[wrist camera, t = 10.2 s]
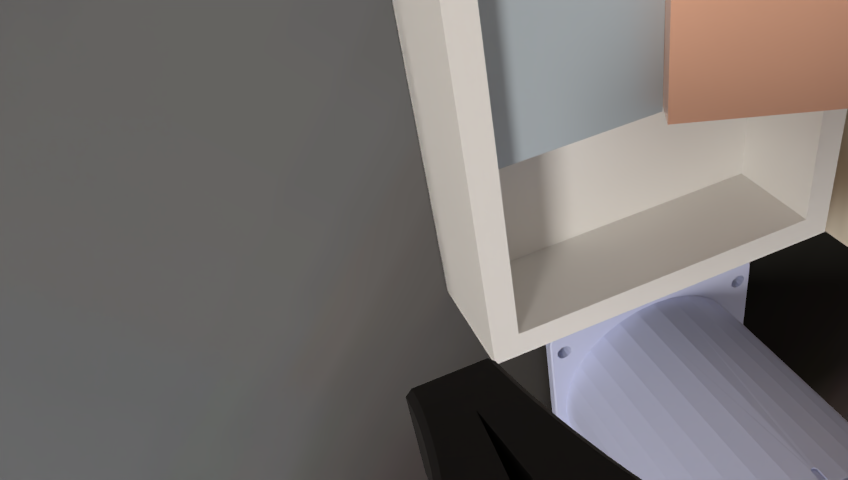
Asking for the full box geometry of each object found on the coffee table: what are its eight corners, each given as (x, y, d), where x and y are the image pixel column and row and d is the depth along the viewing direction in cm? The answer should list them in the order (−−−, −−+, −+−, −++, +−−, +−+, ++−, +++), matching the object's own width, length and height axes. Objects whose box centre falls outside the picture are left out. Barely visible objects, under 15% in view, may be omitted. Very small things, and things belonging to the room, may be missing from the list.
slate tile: (485, 173, 20) (454, 138, 21) (662, 111, 21) (620, 81, 22) (458, -27, 17) (424, -51, 18) (667, -89, 18) (617, -107, 19)
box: (747, 177, 27) (824, 231, 24) (447, 291, 25) (495, 364, 22) (811, -438, 17) (951, -460, 15) (328, -335, 15) (387, -339, 13)
